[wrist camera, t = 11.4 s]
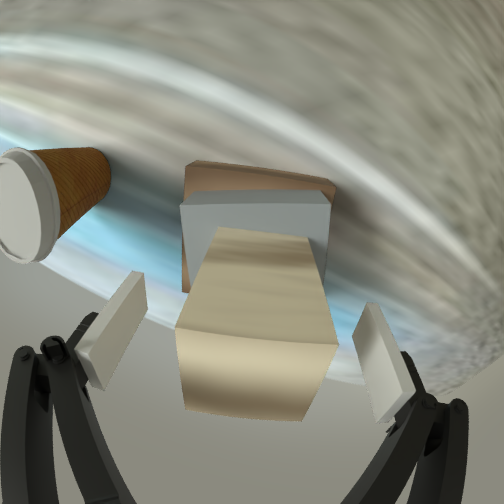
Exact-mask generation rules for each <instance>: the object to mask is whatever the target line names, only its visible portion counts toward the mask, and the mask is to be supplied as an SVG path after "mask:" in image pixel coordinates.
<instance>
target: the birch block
mask: <svg viewBox="0 0 504 504" xmlns="http://www.w3.org/2000/svg"><path fill="white" fill-rule="evenodd" d="M175 335H176V345H177V353H178V361H179V369H180V377H181V383H182V391H183V397H184V404H185V409H186V410H191V411H196V412H202V413H209V414H215V415H223V416H229V417H238V418H248V419H259V420H275V421H302V420H303V418H304V416H305V414H306V412H307V410H308V409H309V407H310V405H311V403H312V401H313V399H314V397H315V395H316V393H317V391H318V389H319V387H320V385H321V383H322V381H323V379H324V377H325V375H326V372H327V370H328V368H329V366H330V364H331V362H332V359H333V357H334V355H335V353H336V350H337V348H338V346H339V343H338V340H337V336H336V332H335V328H334V325H333V321H332V317H331V314H330V310H329V307H328V303H327V299H326V296H325V293H324V289H323V286H322V282H321V279H320V276H319V272H318V269H317V266H316V263H315V260H314V256H313V253H312V250H311V247H310V244H309V241H308V238H307V237H302V236H294V235H286V234H278V233H270V232H262V231H253V230H245V229H236V228H227V227H218V229H217V231H216V233H215V235H214V238H213V240H212V242H211V244H210V246H209V249H208V251H207V253H206V255H205V258H204V260H203V262H202V264H201V267H200V269H199V271H198V273H197V276H196V278H195V280H194V283H193V285H192V287H191V290H190V292H189V294H188V297H187V299H186V301H185V304H184V306H183V309H182V311H181V313H180V316H179V318H178V321H177V323H176V326H175Z"/></svg>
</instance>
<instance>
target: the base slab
mask: <svg viewBox="0 0 504 504" xmlns="http://www.w3.org/2000/svg"><path fill="white" fill-rule="evenodd" d="M262 189H282V190H321V192H322V193H323V194H324V196H325V197H326V198H327V200H328V201H329V202H330V204H331V209H332V205H333V200H334V196H335V191H336V187H335V186H334V185H333V184H332V183H331V182H330V181H329V180H328V179H325V178H320V177H315V176H309V175H304V174H298V173H292V172H286V171H280V170H273V169H266V168H259V167H252V166H244V165H236V164H227V163H218V162H208V161H195V162H193V163H191V164H189V165H187V166H186V168H185V183H184V201H185V200H186V199H187V198H188V197H189V196H190V195H191V194H192V193H193V192H194V191H214V190H262ZM330 214H331V211H330ZM190 290H191V286H190V279H189V273H188V267H187V260H186V253H185V246H184V239H183V231H182V292H184V293H189V292H190Z"/></svg>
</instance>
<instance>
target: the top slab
mask: <svg viewBox="0 0 504 504" xmlns="http://www.w3.org/2000/svg"><path fill="white" fill-rule="evenodd" d="M179 206H180V215H181V223H182V231H183V239H184V246H185V253H186V260H187V267H188V273H189V279H190V286H191V287H192V285H193V283H194V280H195V278H196V276H197V273H198V271H199V269H200V267H201V264H202V262H203V260H204V258H205V255H206V253H207V251H208V249H209V246H210V244H211V242H212V240H213V238H214V235H215V233H216V231H217V229H218V227H227V228H236V229H245V230H253V231H262V232H270V233H278V234H286V235H294V236H302V237H307V238H308V241H309V244H310V247H311V250H312V253H313V256H314V260H315V263H316V266H317V269H318V272H319V276H320V279H321V282H322V286H323V283H324V274H325V266H326V256H327V246H328V236H329V224H330V211H331V204H330V202H329V201H328V200H327V198H326V197H325V196H324V194H323V193H322V192H321V190H282V189H262V190H214V191H194V192H193V193H192V194H191V195H190V196H189V197H188V198H187V199H186V200H185V201H184V202H182V203H181V204H180V205H179Z"/></svg>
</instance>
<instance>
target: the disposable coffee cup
mask: <svg viewBox="0 0 504 504" xmlns="http://www.w3.org/2000/svg"><path fill="white" fill-rule="evenodd" d="M110 182H111V172H110V167H109V164H108V161H107V160H106V158H105V156H104V155H103V154H102V153H101V152H100V151H98V150H97V149H94V148H90V147H86V148H58V149H43V150H30V151H29V150H26V149H24V148H19V147H18V148H11V149H9V150H7V151H6V152H4V153H3V154H2V155H1V156H0V249H1V250H2V251H3V252H4V253H5V254H6V255H7V257H8V258H10V259H11V260H13V261H14V262H17V263H20V264H26V263H30V262H39V261H41V260H43V259H45V258H46V257H47V256H48V255H49V253H50V252H51V251H52V248H53V246H54V244H55V242H56V241H57V239H59V238H60V237H61V236H62V235H63V234H64V233H65V232H66V231H67V230H68V229H69V228H70V227H71V226H72V225H73V224H74V223H75V222H76V221H78V220H79V219H80V218H81V217H82V216H83V215H84V214H85V213H86V212H88V211H89V210H90V209H91V208H92V207H93V206H94V205H96V204H97V203H98V202H99V201H100V200H102V199H103V198H104V197H105V195H106V194H107V192H108V190H109V187H110Z"/></svg>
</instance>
